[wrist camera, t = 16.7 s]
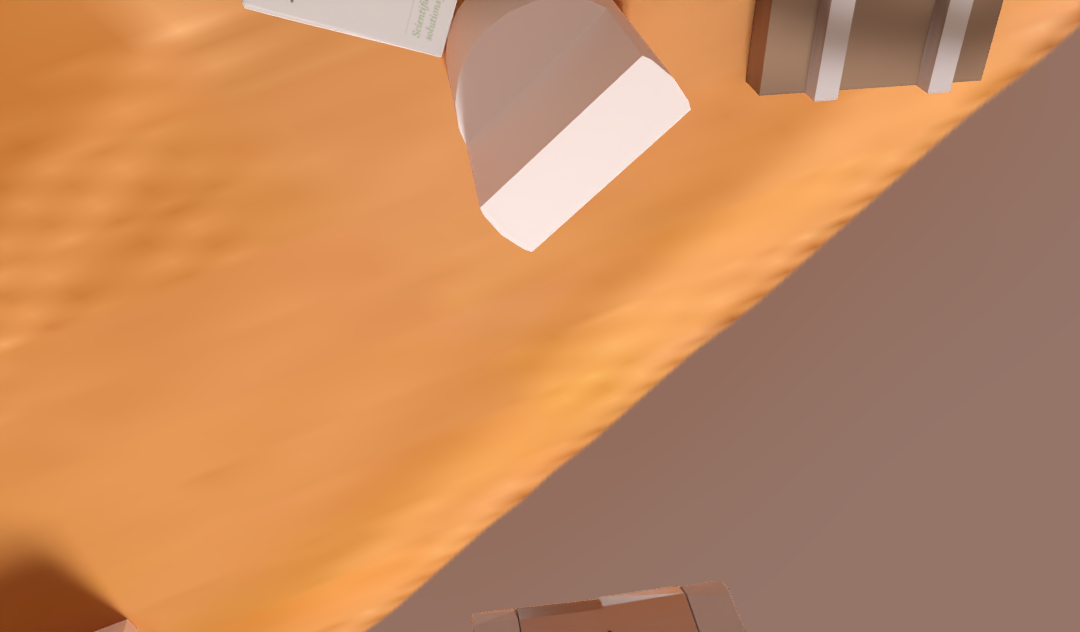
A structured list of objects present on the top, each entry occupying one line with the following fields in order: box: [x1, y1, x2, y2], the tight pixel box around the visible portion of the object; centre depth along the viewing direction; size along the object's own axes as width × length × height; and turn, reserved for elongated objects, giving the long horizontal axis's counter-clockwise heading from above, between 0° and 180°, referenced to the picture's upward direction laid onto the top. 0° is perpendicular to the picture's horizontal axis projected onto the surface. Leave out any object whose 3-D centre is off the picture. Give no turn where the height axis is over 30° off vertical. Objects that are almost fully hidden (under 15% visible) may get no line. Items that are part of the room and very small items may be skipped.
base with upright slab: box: [445, 0, 691, 252], centre depth 40 cm, size 9×9×12 cm
